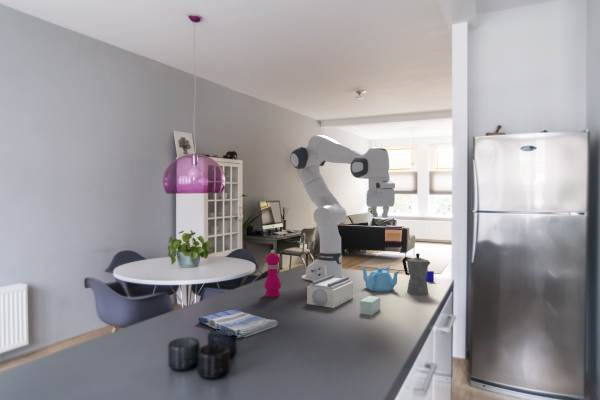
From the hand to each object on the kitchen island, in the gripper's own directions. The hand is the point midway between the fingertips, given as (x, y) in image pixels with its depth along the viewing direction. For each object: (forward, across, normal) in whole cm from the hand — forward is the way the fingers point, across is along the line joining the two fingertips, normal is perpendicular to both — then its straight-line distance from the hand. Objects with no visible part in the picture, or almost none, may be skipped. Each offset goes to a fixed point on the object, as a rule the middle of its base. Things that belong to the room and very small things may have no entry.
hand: (379, 217), depth 174 cm
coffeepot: (+35, -4, +19) cm, 40 cm away
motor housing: (+34, -1, -23) cm, 41 cm away
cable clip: (+35, -28, +38) cm, 59 cm away
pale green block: (+35, +18, -13) cm, 41 cm away
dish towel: (+34, +20, -63) cm, 75 cm away
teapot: (+35, -15, +7) cm, 38 cm away
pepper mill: (+34, -16, -44) cm, 58 cm away
